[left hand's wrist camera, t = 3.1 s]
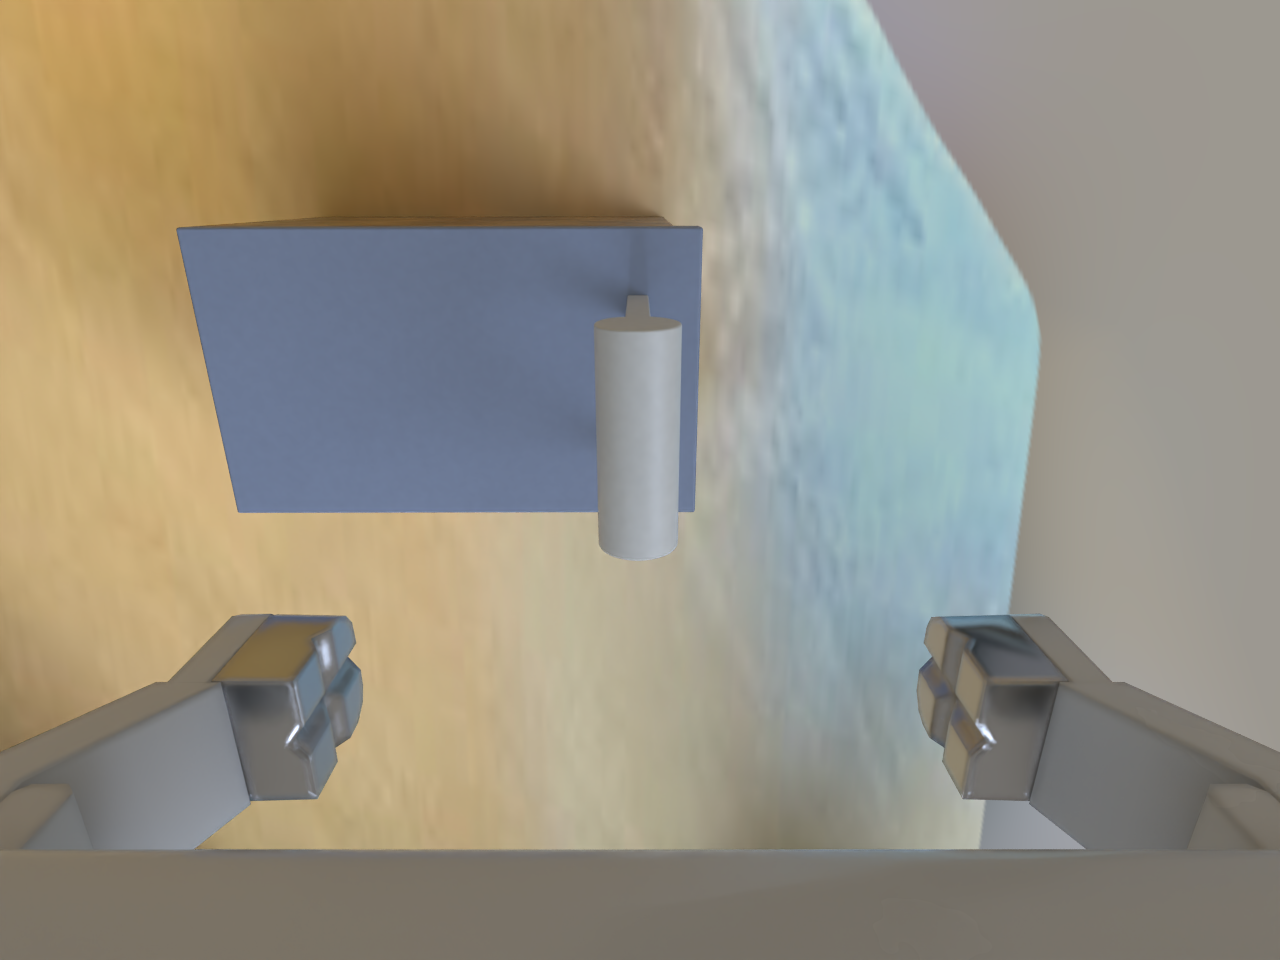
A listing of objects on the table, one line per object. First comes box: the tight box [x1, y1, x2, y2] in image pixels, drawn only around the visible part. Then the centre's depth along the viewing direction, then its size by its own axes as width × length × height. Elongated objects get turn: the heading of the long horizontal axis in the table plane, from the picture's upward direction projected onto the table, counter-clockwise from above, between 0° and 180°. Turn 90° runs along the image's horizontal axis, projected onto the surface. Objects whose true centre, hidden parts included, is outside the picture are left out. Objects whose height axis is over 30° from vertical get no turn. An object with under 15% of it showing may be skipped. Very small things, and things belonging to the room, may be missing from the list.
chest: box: [207, 217, 673, 226], centre depth 32 cm, size 16×10×11 cm, turn 90°
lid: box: [177, 226, 703, 561], centre depth 22 cm, size 17×10×9 cm, turn 90°
